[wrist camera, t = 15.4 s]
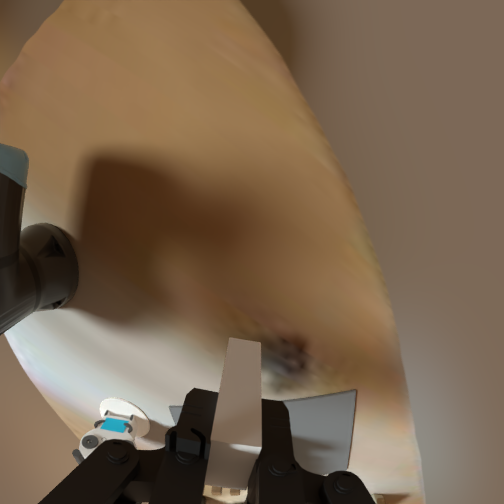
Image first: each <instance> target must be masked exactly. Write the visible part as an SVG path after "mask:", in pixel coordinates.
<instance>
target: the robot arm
mask: <svg viewBox="0 0 504 504" xmlns="http://www.w3.org/2000/svg"><path fill="white" fill-rule="evenodd" d="M28 167H29V158H28V155H27V154H26V152H25V151H23V150H21V149H18V148H15V147H12V146H8V145H5V144H1V143H0V335H1V334H3V333H4V332H6V331H7V330H8V329H10V328H11V327H13V326H14V325H15V324H17V323H18V322H20V321H21V320H22V319H24V318H25V317H27V316H28V315H30V314H31V313H33V312H35V311H45V310H53V309H57V308H59V307H61V306H62V305H64V304H65V303H67V302H68V301H69V300H70V299H71V298H72V297H73V295H74V293H75V291H76V288H77V284H78V264H77V259H76V256H75V253H74V250H73V248H72V246H71V244H70V242H69V241H68V239H67V238H66V236H65V235H64V234H63V233H62V232H61V231H60V230H59V229H58V228H56V227H55V226H53V225H50V224H47V223H38V224H34V225H30V226H28V227H26V228H24V229H23V230H22V231H21V223H22V214H23V205H24V198H25V191H26V189H27V184H26V182H27V174H28ZM290 428H291V425H290V417H289V410H288V408H287V407H286V405H285V404H284V402H283V401H276V400H268V399H261V342H255V341H249V340H243V339H237V338H232V337H229V342H228V347H227V352H226V358H225V363H224V368H223V374H222V379H221V384H220V390H219V393H218V392H213V391H208V390H203V389H198V388H193V389H192V390H191V391H190V392H189V393H188V394H187V395H186V398H185V401H184V404H183V407H182V410H181V413H180V416H179V419H178V422H177V425H175V426H174V427H172V428H170V429H169V430H168V431H167V433H166V434H165V447H163V448H161V449H157V450H137V449H136V448H135V446H133V445H132V444H131V443H129V442H127V441H124V440H122V439H110V440H106V441H104V442H103V443H101V444H100V445H99V446H98V447H97V448H96V449H95V450H94V451H93V452H92V453H91V454H90V455H89V456H88V457H86V458H85V459H84V460H83V461H82V462H81V463H80V464H79V466H77V467H76V468H75V469H74V470H73V471H72V472H71V473H70V474H69V475H68V476H67V477H66V478H65V479H64V480H63V481H62V482H61V483H59V484H58V485H57V486H56V487H55V488H54V489H53V490H52V491H51V492H50V493H49V494H48V495H47V496H46V497H45V498H43V500H42V501H40V502H39V503H38V504H141V503H142V502H149V504H201V501H202V495H203V489H204V484H205V485H211V486H217V487H223V488H231V489H239V490H246V489H247V486H248V494H247V498H246V500H245V502H244V504H376V503H375V501H374V500H373V498H372V497H371V495H370V493H369V492H368V490H367V489H366V487H365V485H364V484H363V482H362V480H361V479H360V478H359V477H358V476H357V475H355V474H353V473H351V472H348V471H344V470H343V471H335V472H332V473H330V474H329V475H328V476H323V475H319V474H315V473H312V472H309V471H307V470H305V469H303V468H302V467H301V466H300V465H299V463H298V462H297V461H296V460H295V457H294V451H293V442H292V434H291V429H290Z"/></svg>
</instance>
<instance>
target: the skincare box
mask: <svg viewBox="0 0 504 504" xmlns="http://www.w3.org/2000/svg"><path fill="white" fill-rule="evenodd" d="M371 497H372V498H373V500H374V501H375V503H376V504H385V501H384V498H383V495H379V494H372V495H371Z"/></svg>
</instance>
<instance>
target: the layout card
mask: <svg viewBox="0 0 504 504" xmlns="http://www.w3.org/2000/svg"><path fill="white" fill-rule="evenodd" d="M355 397H356V390H350V391H344V392H339V393H333V394H327V395H321V396H315V397H308V398H301V399H293V400H285V401H283V402H284V404H285V405H286V407H287V408H288V410H289V417H290V425H291V428H290V429H291V434H292V442H293V451H294V457H295V460H296V461H297V462H298V463H299V465H300V466H301V467H302V468H303V469H305V470H307V471H309V472H312V473H315V474H319V475H324V474H330V473H332V472H335V471H343V470H344V471H345V470H347V465H348V458H349V451H350V444H351V436H352V427H353V418H354V408H355ZM182 407H183V406H169V409H170V412H171V415H172V417H173V420H174V422H175V425H177V422H178V419H179V416H180V413H181V410H182Z"/></svg>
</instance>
